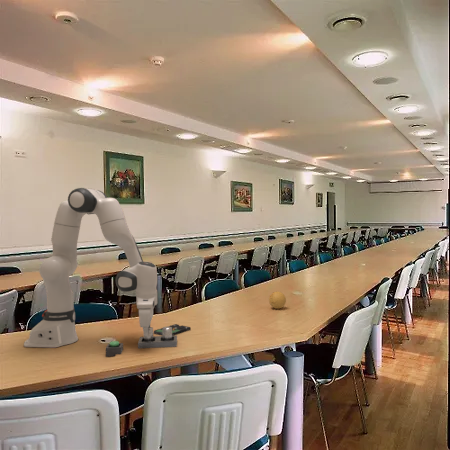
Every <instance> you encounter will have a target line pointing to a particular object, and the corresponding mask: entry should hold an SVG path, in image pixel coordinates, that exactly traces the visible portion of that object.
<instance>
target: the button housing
mask: <svg viewBox="0 0 450 450" xmlns="http://www.w3.org/2000/svg"><path fill="white" fill-rule="evenodd" d="M123 350H124V342H119V345H118V346H115V347H112V346H110V342H109V343H107V345H106V347H105V357H106V358H107V357H108V358H110V357H116V355H122V353H123Z"/></svg>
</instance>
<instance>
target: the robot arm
mask: <svg viewBox="0 0 450 450" xmlns="http://www.w3.org/2000/svg"><path fill="white" fill-rule="evenodd" d="M84 215H96V217H97V218H98V221H99V225H100V229H101V233H102V235H103V237H104V239H105V240H106V241H107V242H109V243H111V244H114V245H116V246H118V247H119V248H120V249H122V250H123V252H124V254H125V257H126V258H127V262H128V264H129V267H128V268H125V269H122V270H120V271H119V272H117V274H116V276H115V285H116V287H117V289H118V290H119V291H120V292H123V293H125V292H126V293H127V292H128V293H129V292H132V291H133V292H136V293H135V294H136V295H135V296H136V303H135V304H136V308H137V309H138V318H139V321H138V323H139V327H140V328H142V331H143V337H144V336H148V327H151V323H152V320H153V317H154V308H155V306H157V304H158V290H157V285H158V271H157V270H158V269H157V266H156V265H155V264H154V263H153V262H151V261H144V260H143V258H142V255H141V252H140V250H139V247H138V244H137V242H136V239H135V237H134V236H133V235H132V232H131V231H130V228H129V225H128V223H127V220H126V217H125V213H124V211H123V208H122V206H121V204H120V202H119V200H118V199H116V198H115V197H108V196H107V194H106V193H104V192H103V191H101V190H99V189H95V188H89V187H88V188H85V187H77V188H75V189H72V190H71V191H70V192H69V194H68V197H67V199H66V200H63V201H61V203H60V204H59V206H58V208H57V211H56V214H55V218H54V222H53V227H52V232H51V240H50V241H51V243H52V255H51V256H49V257H47V258H46V259H44V260H43V261H42V263H40V264H39V265H40V266H39V269H38V270H39V271H38V272H39V275H40V277H41V278H42V280H43V284H44V288H45V291H46V308H47V309H46V310H44V312H43V313H42V315H41V317H42V320H41V321H40V322H38V323H37V324H36V325H35V326H34V327H32V328H31V330H30V332H29V336H28V337H29V338H27V339H26V340H25V341H24V343H23V347H24V348H59V347H62V346H66V345H71V344H73V343H75V342H78V340H79V337H78V334H77V331H76V329H77V328H76V323H75V321H76V312H75V310H76V309H75V307H74V291H73V289H72V287H71V283H70V276H71V275H73V274H74V273H75V272H76V271H77V268H78V261H77V259H78V240H79V236H80V229H81V226H82V225H81V224H82V220H83V217H84Z"/></svg>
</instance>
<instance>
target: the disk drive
mask: <svg viewBox="0 0 450 450" xmlns="http://www.w3.org/2000/svg"><path fill="white" fill-rule="evenodd" d="M168 326H169V327H172V336H176V335H177V336H178V335H179V334H182V333H185V332H188V331H189V332H190V331H191V326H185V325H180V324H179V323H178V324H177V323H176V324H175V323H174V324H171V325H168ZM153 335H157V336H163V327H161V328H157V329H155V330H153Z"/></svg>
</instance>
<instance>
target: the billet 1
mask: <svg viewBox="0 0 450 450" xmlns="http://www.w3.org/2000/svg"><path fill="white" fill-rule="evenodd" d="M153 336H154V327H151V326H150V327H148V336H144V335H143V337H144V342H148V341H153Z"/></svg>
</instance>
